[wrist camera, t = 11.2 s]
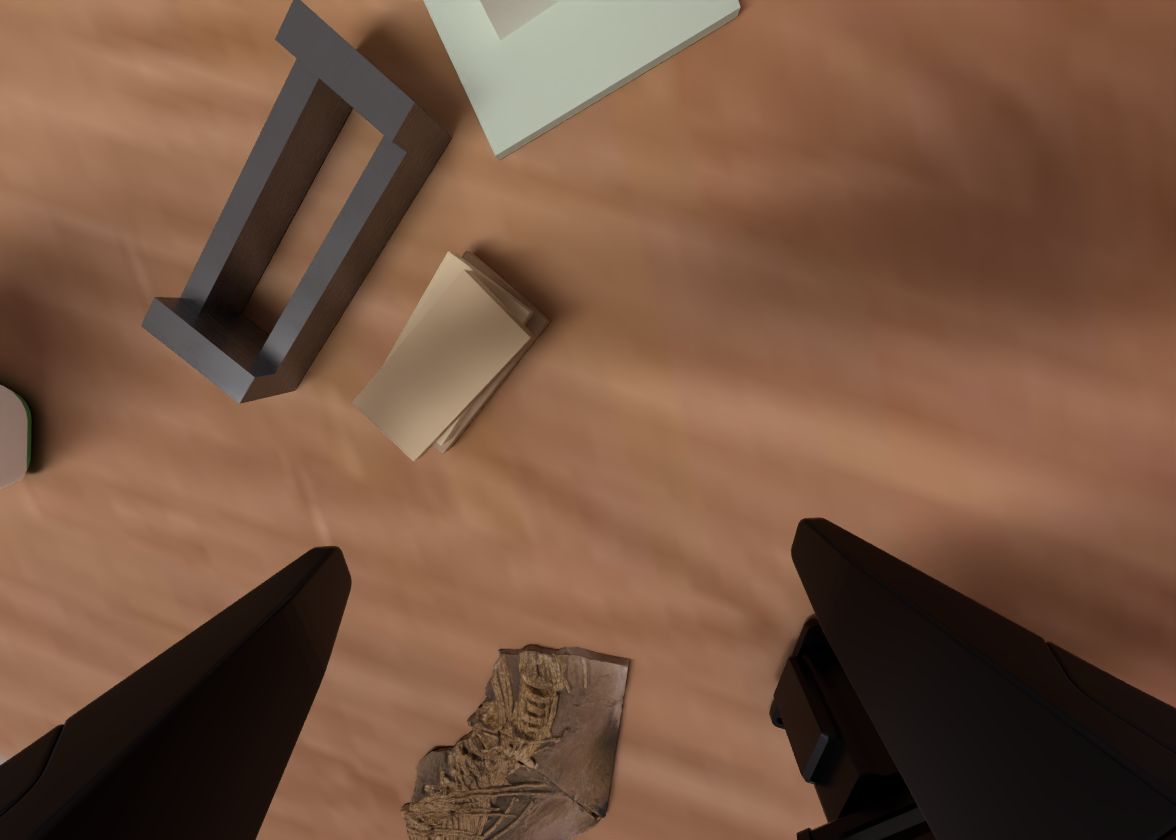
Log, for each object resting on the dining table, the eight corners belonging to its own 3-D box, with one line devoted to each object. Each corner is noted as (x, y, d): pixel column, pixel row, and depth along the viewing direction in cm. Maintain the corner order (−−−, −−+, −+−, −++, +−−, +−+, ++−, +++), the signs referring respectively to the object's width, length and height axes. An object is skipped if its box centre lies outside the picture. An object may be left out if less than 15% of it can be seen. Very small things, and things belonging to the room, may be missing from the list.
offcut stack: (553, 322, 19) (541, 324, 16) (449, 453, 21) (425, 471, 18) (468, 249, 18) (444, 240, 16) (371, 390, 20) (337, 400, 18)
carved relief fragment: (536, 597, 23) (531, 610, 22) (706, 701, 23) (709, 719, 22) (355, 849, 30) (344, 869, 29) (488, 925, 30) (483, 947, 29)
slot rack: (452, 137, 17) (414, 102, 14) (294, 390, 21) (239, 403, 18) (353, 49, 17) (295, -4, 14) (210, 323, 21) (141, 325, 18)
